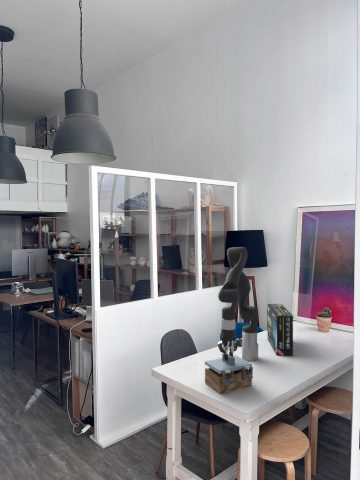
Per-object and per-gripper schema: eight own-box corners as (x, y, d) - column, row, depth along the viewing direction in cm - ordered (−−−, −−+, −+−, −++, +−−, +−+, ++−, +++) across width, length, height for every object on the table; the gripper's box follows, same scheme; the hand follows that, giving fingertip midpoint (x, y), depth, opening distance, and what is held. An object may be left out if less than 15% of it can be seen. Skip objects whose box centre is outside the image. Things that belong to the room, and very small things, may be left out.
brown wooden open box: (235, 376, 201) (235, 356, 200) (254, 387, 186) (254, 366, 186) (205, 383, 191) (205, 362, 191) (222, 395, 177) (222, 373, 177)
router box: (266, 339, 268) (266, 303, 267) (281, 339, 267) (281, 303, 266) (276, 356, 232) (276, 315, 231) (293, 356, 232) (294, 315, 231)
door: (235, 358, 200) (236, 348, 200) (254, 368, 186) (254, 358, 186) (205, 364, 191) (205, 354, 191) (221, 375, 177) (221, 364, 177)
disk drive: (247, 344, 258) (229, 339, 268) (247, 340, 258) (229, 335, 268) (239, 347, 250) (221, 343, 260) (239, 343, 250) (221, 339, 260)
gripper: (235, 323, 195) (234, 355, 196) (213, 327, 189) (213, 359, 190) (243, 327, 189) (243, 360, 189) (221, 330, 182) (221, 364, 183)
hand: (228, 359), depth 189 cm, fingers closed on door, 2 cm apart
